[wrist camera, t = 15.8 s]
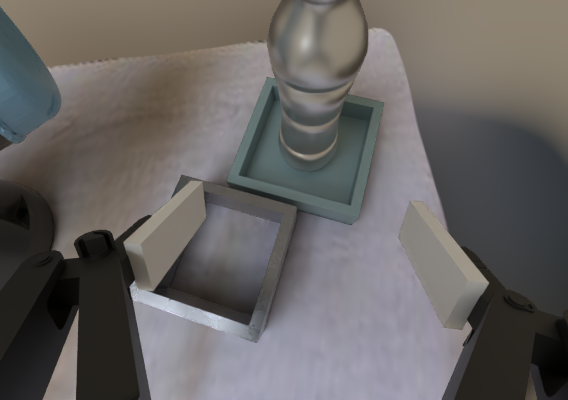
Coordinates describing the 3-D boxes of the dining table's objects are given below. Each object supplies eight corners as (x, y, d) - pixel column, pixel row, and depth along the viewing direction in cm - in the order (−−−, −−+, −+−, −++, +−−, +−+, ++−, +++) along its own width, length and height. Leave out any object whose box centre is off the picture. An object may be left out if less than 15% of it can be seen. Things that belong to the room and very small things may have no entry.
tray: (233, 192, 30) (226, 181, 27) (269, 96, 34) (267, 76, 30) (351, 225, 28) (358, 217, 25) (374, 120, 32) (384, 102, 29)
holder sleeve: (156, 294, 27) (126, 297, 22) (199, 191, 30) (181, 174, 25) (263, 331, 25) (256, 343, 21) (296, 218, 29) (297, 206, 24)
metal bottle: (330, 124, 31) (387, -124, 12) (337, 176, 29) (421, -25, 10) (277, 129, 31) (250, -110, 12) (281, 180, 29) (255, -9, 10)
